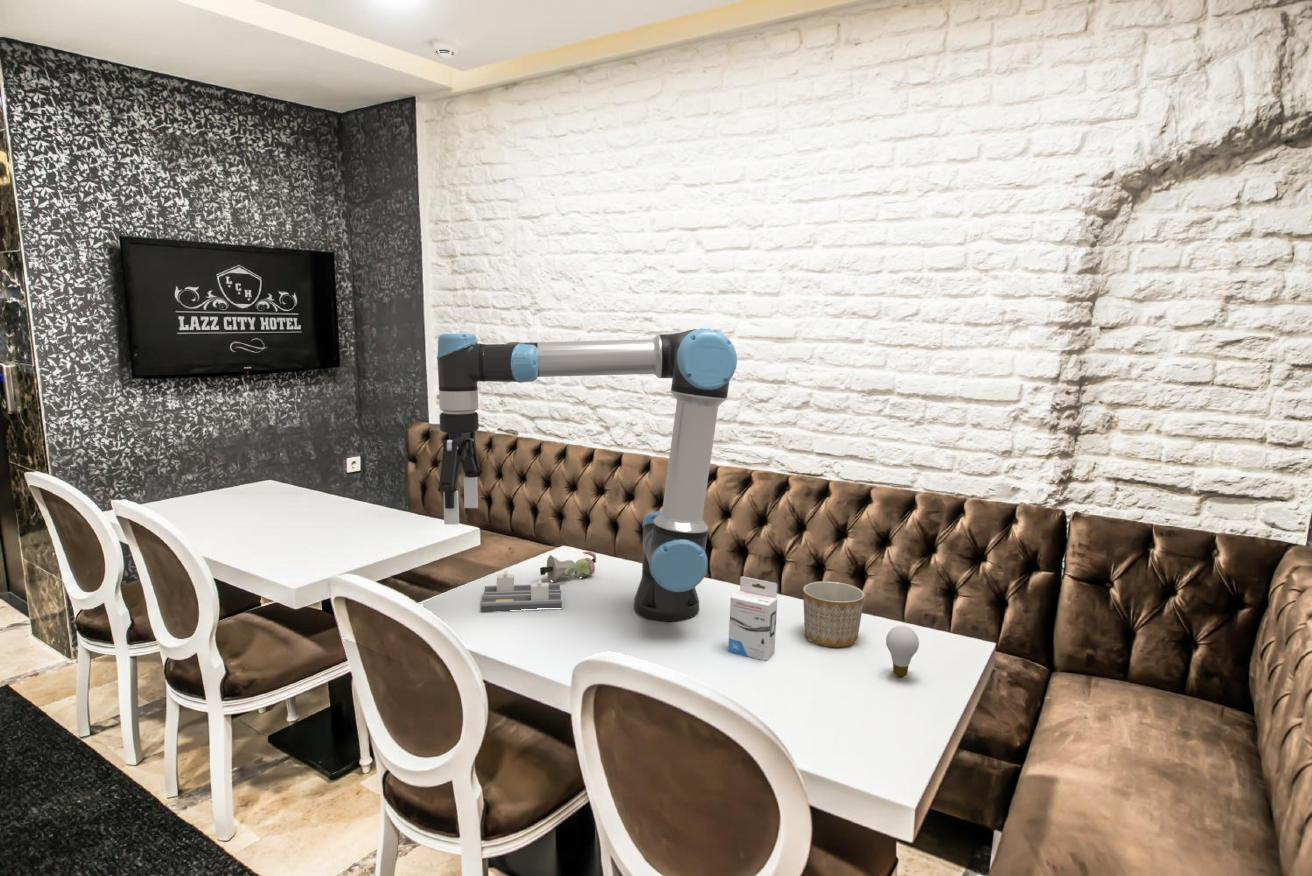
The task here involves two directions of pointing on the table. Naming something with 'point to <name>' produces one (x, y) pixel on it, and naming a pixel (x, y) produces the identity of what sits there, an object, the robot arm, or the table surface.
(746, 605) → the ink box
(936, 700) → the table surface
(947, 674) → the table surface
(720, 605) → the table surface
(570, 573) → the figurine
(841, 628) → the planter
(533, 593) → the tab
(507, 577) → the tab
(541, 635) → the table surface
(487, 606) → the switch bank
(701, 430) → the robot arm
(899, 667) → the light bulb
